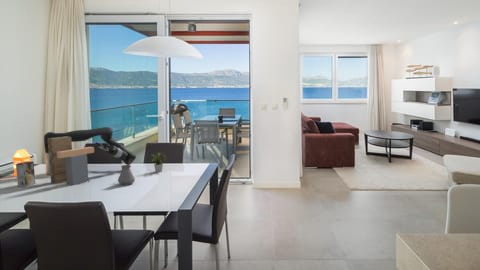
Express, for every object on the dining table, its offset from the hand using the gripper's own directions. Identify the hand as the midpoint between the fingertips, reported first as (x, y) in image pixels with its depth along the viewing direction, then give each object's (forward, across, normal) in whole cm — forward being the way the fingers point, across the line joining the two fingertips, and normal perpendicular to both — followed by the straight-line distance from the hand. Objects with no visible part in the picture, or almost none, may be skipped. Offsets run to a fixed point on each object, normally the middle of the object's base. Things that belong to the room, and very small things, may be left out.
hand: (99, 143), depth 260 cm
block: (+14, 0, +14) cm, 20 cm away
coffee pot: (-12, +30, +22) cm, 40 cm away
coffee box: (+23, -26, +43) cm, 55 cm away
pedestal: (+4, 0, +32) cm, 32 cm away
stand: (+7, -14, +33) cm, 36 cm away
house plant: (-42, +26, +6) cm, 50 cm away
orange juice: (+9, -62, +35) cm, 71 cm away
